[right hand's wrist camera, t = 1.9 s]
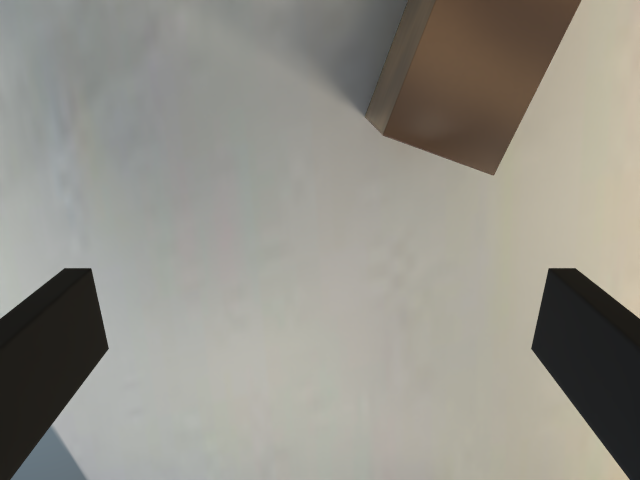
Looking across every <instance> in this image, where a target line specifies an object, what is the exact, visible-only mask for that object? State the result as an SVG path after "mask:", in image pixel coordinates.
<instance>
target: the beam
mask: <svg viewBox="0 0 640 480" xmlns="http://www.w3.org/2000/svg"><path fill="white" fill-rule="evenodd" d="M580 2H581V0H408V2H407V5H406V8H405V10H404V13H403V16H402V18H401V21H400V24H399V26H398V29H397V32H396V35H395V37H394V40H393V43H392V45H391V48H390V51H389V53H388V56H387V59H386V61H385V64H384V67H383V69H382V72H381V75H380V78H379V80H378V83H377V86H376V88H375V91H374V94H373V96H372V99H371V102H370V104H369V107H368V110H367V112H366V115H365V118H366V119H367V120H368V121H369V122H370V123H371V124H372V125H373V126H374V127H375V128H376V129H377V130H378V131H379V132H380V133H381V134H382V135H383V136H386V137H388V138H391V139H394V140H397V141H400V142H402V143H405V144H408V145H411V146H413V147H416V148H419V149H422V150H424V151H427V152H430V153H433V154H435V155H438V156H441V157H444V158H446V159H449V160H452V161H455V162H458V163H460V164H463V165H466V166H469V167H471V168H474V169H477V170H480V171H482V172H485V173H488V174H491V175H494V174H495V172H496V170H497V168H498V166H499V164H500V162H501V160H502V158H503V156H504V154H505V152H506V150H507V148H508V146H509V144H510V142H511V140H512V138H513V136H514V134H515V132H516V130H517V128H518V126H519V124H520V122H521V120H522V118H523V116H524V114H525V112H526V110H527V108H528V106H529V104H530V102H531V100H532V98H533V96H534V94H535V92H536V90H537V88H538V86H539V84H540V82H541V80H542V78H543V76H544V74H545V72H546V70H547V68H548V66H549V64H550V62H551V60H552V58H553V56H554V54H555V52H556V50H557V48H558V46H559V44H560V42H561V40H562V38H563V36H564V34H565V32H566V30H567V28H568V26H569V24H570V22H571V20H572V18H573V16H574V14H575V12H576V10H577V8H578V6H579V4H580Z"/></svg>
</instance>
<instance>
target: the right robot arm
mask: <svg viewBox="0 0 640 480" xmlns="http://www.w3.org/2000/svg"><path fill="white" fill-rule="evenodd" d="M108 349H109V348H108V343H107V339H106V334H105V329H104V325H103V320H102V316H101V311H100V306H99V302H98V297H97V293H96V288H95V283H94V279H93V274H92V270H91V268H64V269H63V270H62V271H61V272H59V273H58V274H57V275H56V276H54V277H53V278H52V279H50V280H49V281H48V282H47V283H45V284H44V285H43V286H42V287H40V288H39V289H38V290H36V291H35V292H34V293H33V294H31V295H30V296H29V297H28V298H26V299H25V300H24V301H22V302H21V303H20V304H19V305H17V306H16V307H15V308H14V309H12V310H11V311H10V312H8V313H7V314H6V315H5V316H3V317H2V318H1V319H0V480H10V479H11V478H12V477H13V475H14V474H15V473H16V471H17V470H18V469H19V467H20V466H21V465H22V463H23V462H24V461H25V459H26V458H27V457H28V455H29V454H30V453H31V451H32V450H33V449H34V447H35V446H36V445H37V443H38V442H39V441H40V439H41V438H42V437H43V435H44V434H45V433H46V431H47V430H48V429H49V427H50V426H51V425H52V423H53V422H54V421H55V419H56V418H57V417H58V415H59V414H60V413H61V411H62V410H63V409H64V407H65V406H66V405H67V403H68V402H69V401H70V399H71V398H72V397H73V395H74V394H75V393H76V391H77V390H78V389H79V387H80V386H81V385H82V384H83V382H84V381H85V380H86V378H87V377H88V376H89V374H90V373H91V372H92V370H93V369H94V368H95V366H96V365H97V364H98V362H99V361H100V360H101V358H102V357H103V356H104V354H105V353H106V352H107V350H108ZM531 349H532V350H533V352H534V353H535V354H536V356H537V357H538V358H539V360H540V361H541V362H542V364H543V365H544V366H545V368H546V369H547V370H548V372H549V373H550V374H551V376H552V377H553V378H554V380H555V381H556V382H557V384H558V385H559V386H560V387H561V389H562V390H563V391H564V393H565V394H566V395H567V397H568V398H569V399H570V401H571V402H572V403H573V405H574V406H575V407H576V409H577V410H578V411H579V413H580V414H581V415H582V417H583V418H584V419H585V421H586V422H587V423H588V425H589V426H590V427H591V429H592V430H593V431H594V433H595V434H596V435H597V437H598V438H599V439H600V441H601V442H602V443H603V445H604V446H605V447H606V449H607V450H608V451H609V453H610V454H611V455H612V457H613V458H614V459H615V461H616V462H617V463H618V465H619V466H620V467H621V469H622V470H623V471H624V473H625V474H626V475H627V477H628V478H629V479H630V480H640V319H639V318H638V317H637V316H635V315H634V314H633V313H632V312H630V311H629V310H628V309H626V308H625V307H624V306H623V305H621V304H620V303H619V302H618V301H616V300H615V299H614V298H612V297H611V296H610V295H609V294H607V293H606V292H605V291H604V290H602V289H601V288H600V287H598V286H597V285H596V284H595V283H593V282H592V281H591V280H590V279H588V278H587V277H586V276H584V275H583V274H582V273H581V272H579V271H578V270H577V269H576V268H549V270H548V274H547V279H546V283H545V288H544V293H543V297H542V302H541V306H540V311H539V316H538V320H537V325H536V329H535V334H534V339H533V343H532V348H531Z"/></svg>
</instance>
